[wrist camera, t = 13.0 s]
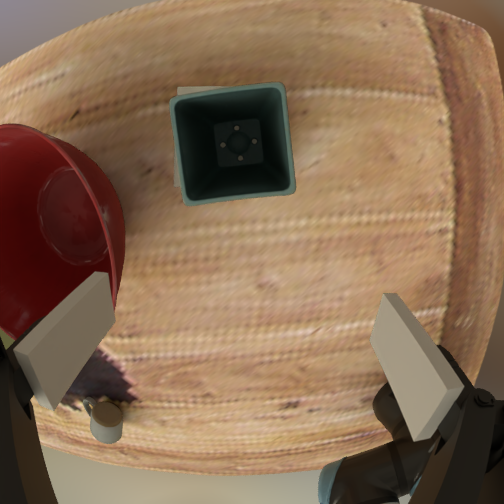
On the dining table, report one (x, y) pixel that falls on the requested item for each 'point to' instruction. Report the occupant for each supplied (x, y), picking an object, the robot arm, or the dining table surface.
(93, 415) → the ceramic mug
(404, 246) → the dining table surface
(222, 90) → the flower pot
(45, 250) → the mixing bowl
